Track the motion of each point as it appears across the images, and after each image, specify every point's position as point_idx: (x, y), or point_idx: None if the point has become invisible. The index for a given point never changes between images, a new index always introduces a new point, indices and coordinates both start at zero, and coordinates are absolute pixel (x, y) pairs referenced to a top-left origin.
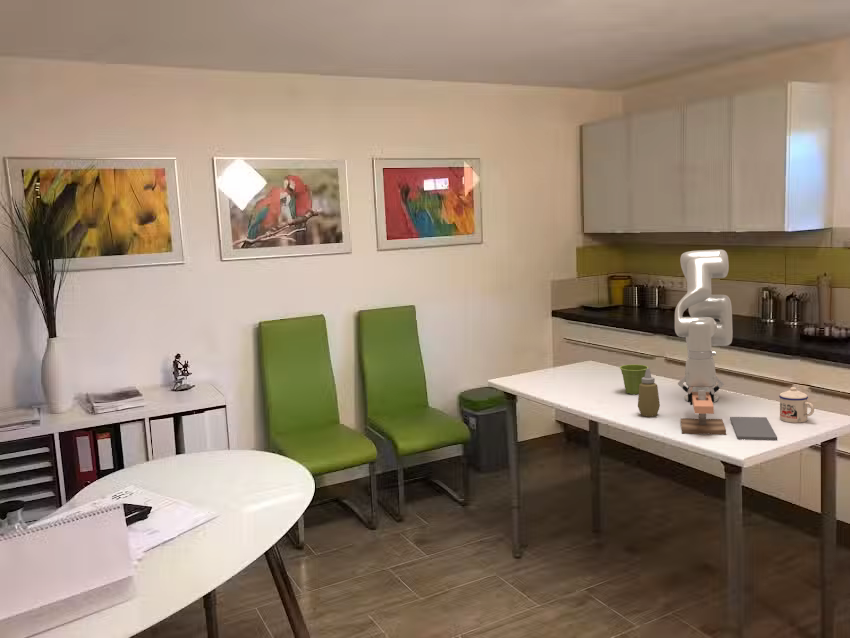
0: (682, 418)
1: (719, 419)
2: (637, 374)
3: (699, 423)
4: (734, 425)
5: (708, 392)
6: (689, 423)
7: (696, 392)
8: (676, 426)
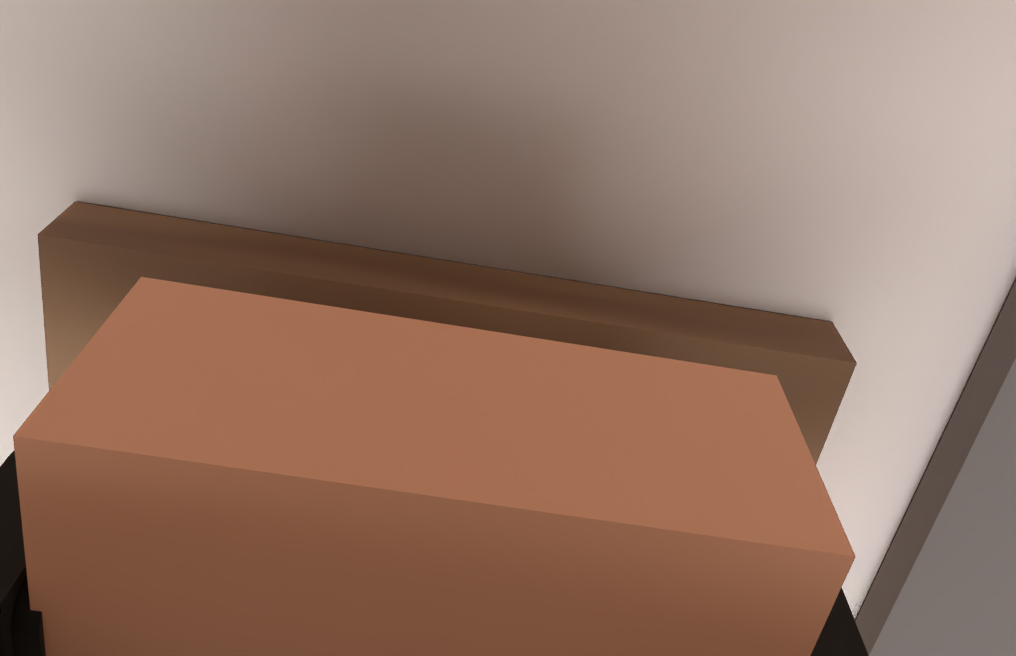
0: (78, 253)
1: (790, 390)
2: None
3: None
4: (905, 621)
5: (783, 634)
6: None
7: (253, 566)
8: (9, 431)
